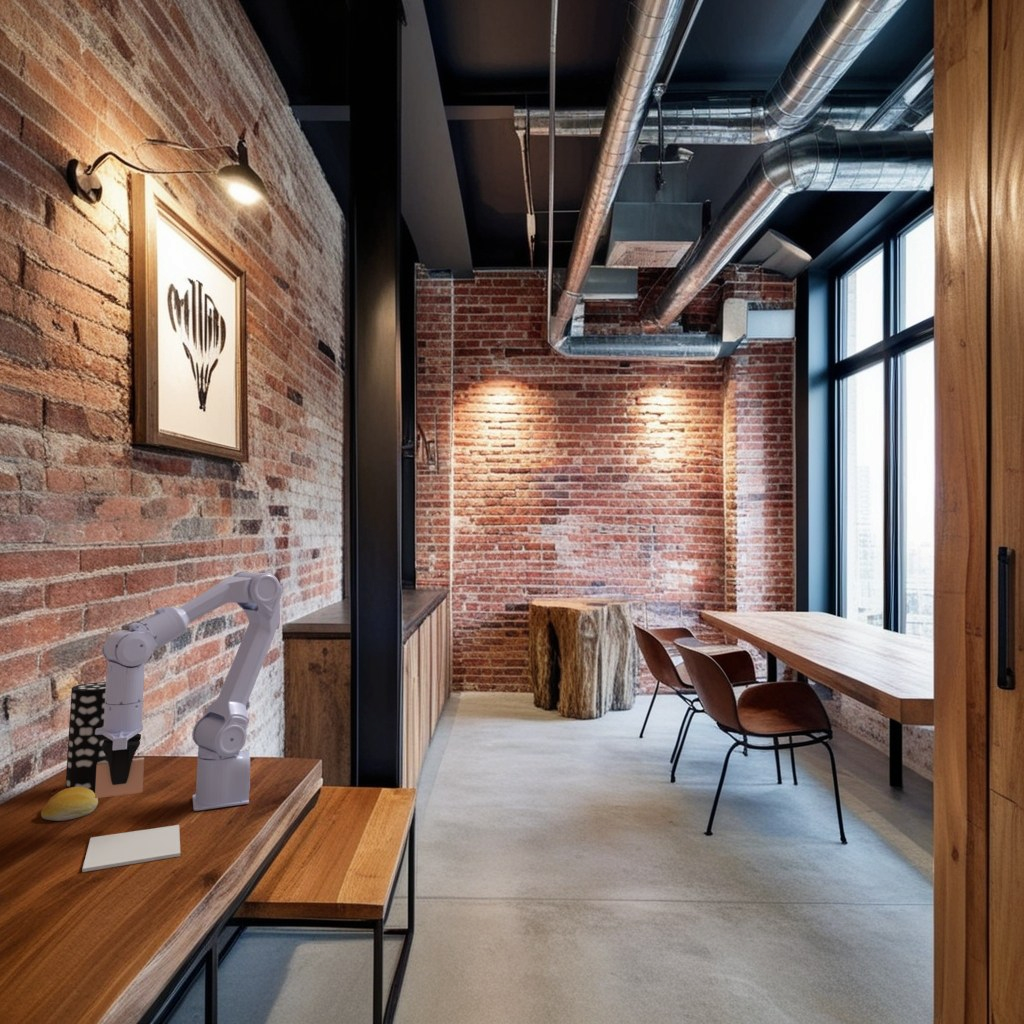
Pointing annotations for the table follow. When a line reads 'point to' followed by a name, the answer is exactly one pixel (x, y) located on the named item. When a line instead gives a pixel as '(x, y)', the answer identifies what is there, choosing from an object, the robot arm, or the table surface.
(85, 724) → the spotted tube
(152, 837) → the mat
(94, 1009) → the table surface
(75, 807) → the bread roll
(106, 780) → the tile
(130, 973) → the table surface
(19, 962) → the table surface
